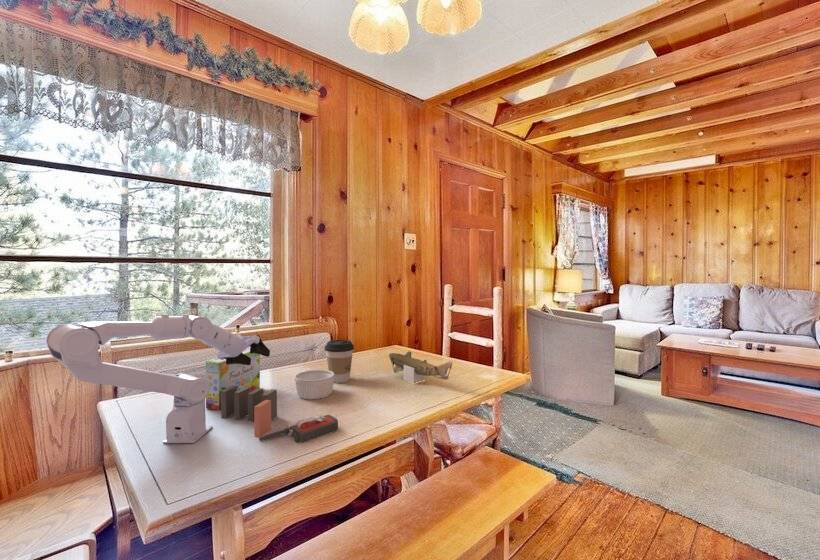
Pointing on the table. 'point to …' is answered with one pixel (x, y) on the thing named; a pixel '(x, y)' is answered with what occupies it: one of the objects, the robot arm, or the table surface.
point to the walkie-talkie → (308, 429)
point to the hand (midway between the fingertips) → (259, 357)
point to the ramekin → (314, 384)
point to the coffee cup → (339, 359)
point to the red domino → (262, 418)
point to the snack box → (231, 377)
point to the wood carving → (417, 368)
